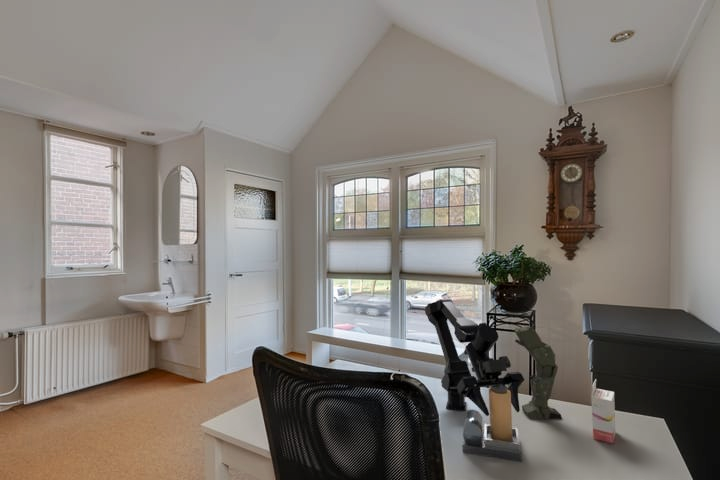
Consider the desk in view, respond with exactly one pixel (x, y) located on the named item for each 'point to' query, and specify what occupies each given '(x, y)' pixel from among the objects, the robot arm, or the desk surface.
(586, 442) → the desk surface
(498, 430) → the bottle
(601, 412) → the ink cartridge box
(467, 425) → the motor mount
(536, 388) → the mechanical leg
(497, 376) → the robot arm
